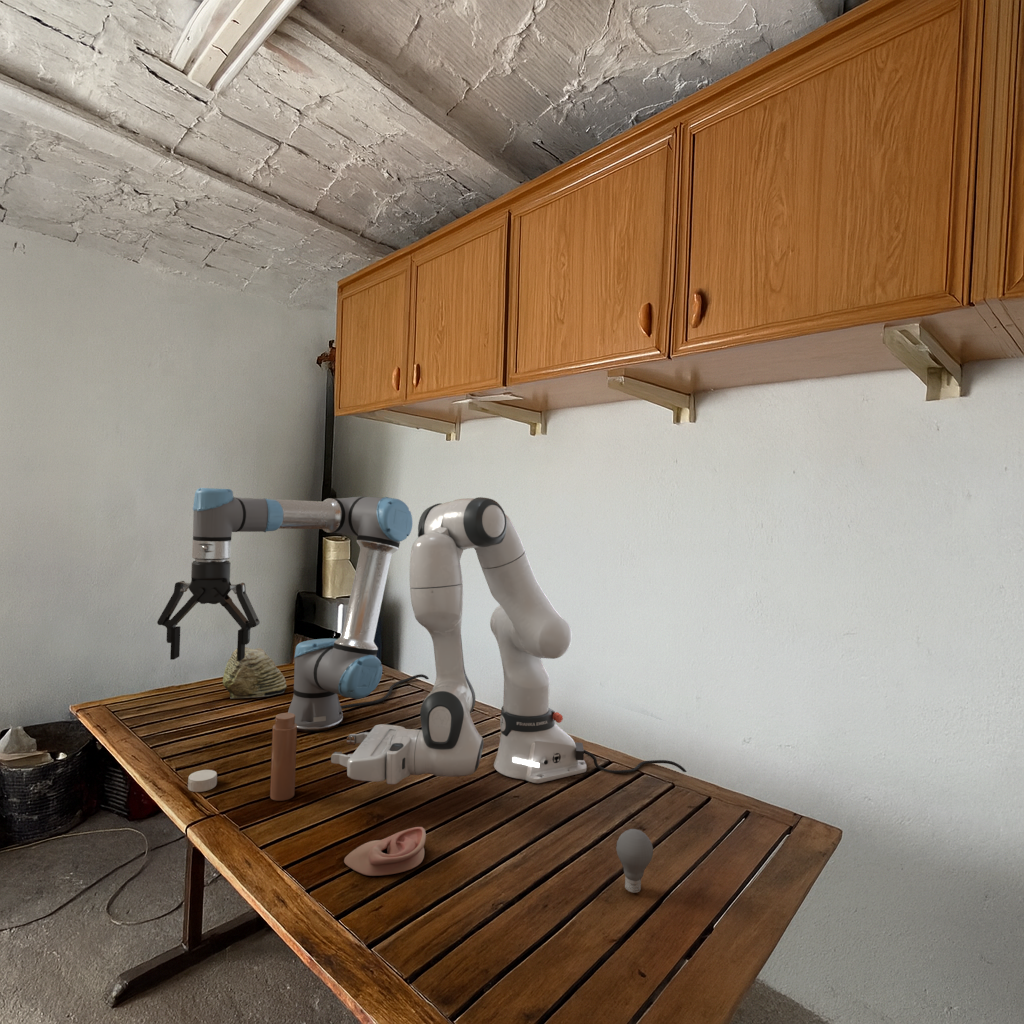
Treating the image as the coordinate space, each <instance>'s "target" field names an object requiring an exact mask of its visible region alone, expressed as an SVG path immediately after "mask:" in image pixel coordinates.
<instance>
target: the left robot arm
mask: <svg viewBox="0 0 1024 1024" xmlns="http://www.w3.org/2000/svg"><path fill="white" fill-rule="evenodd" d="M192 512H193V515H192V519H193V521H192V545H191V546H192V547H191V548H192V549H191V551H192V552H191V558H192V559H194V560H193V561H192V562H191V571H190V572H191V573H190V574H191V575H190V577H191V580H190V582H186V581H185V580H180V581H177V582H175V583H174V587H173V588H174V589H173V593H172V595H171V596H170V598H169V600H168V602H167V603H166V605H165V607H164V609H163V611H162V612H161V614H160V616H159V617H158V619H157V621H156V622H157V623H156V624H157V625H158V626H163V627H165V628H166V643H167V644H170V653H169V654H170V655H169V658H170V660H171V661H172V660H176V659H178V658H180V655H181V654H180V652H181V651H180V649H181V625H179V626H178V624H179V623H180V622H181V621H182V620H183V619H184V618H185V617H186V615H187V614H189V612H190V611H191V610H192V609H193V608H194V607H195V606H196V605H197V604H198V603H200V605H205V604H211V605H217V604H220V605H221V607H223V608H224V609H225V610H226V611H227V613H228V614H229V615H230V616H231V617H232V619H233V620H234V621H235V622H236V624H237V625H238V626H239V627H240V628H239V629H237V645H236V646H237V647H236V649H237V661H241V660H242V659H244V658H245V647H246V645H248V644H249V643H250V641H251V629H253V628H256V627H257V626H259V625H260V624H261V622H260V619H259V617H258V615H257V613H256V610H255V608H254V607H253V605H252V601H251V600H250V598H249V596H248V594H247V588H246V583H244V582H240V583H231V580H230V579H231V562H230V560H229V559H231V558H232V557H231V556H232V535H233V533H239V532H240V533H248V532H250V533H253V532H255V533H258V532H259V533H260V532H261V533H267V532H275V531H277V530H279V529H287V530H289V529H291V530H292V529H294V530H323V531H324V532H326V533H328V534H329V533H330V534H331V533H332V534H333V533H336V534H342V535H348V536H352V537H356V543H357V545H358V546H359V548H360V549H359V554H358V559H357V564H356V568H355V571H354V572H355V574H354V578H353V581H352V582H353V583H352V586H351V591H350V595H349V600H348V604H347V608H346V609H347V610H346V614H345V618H344V623H343V627H342V632H341V636H339V637H338V638H331V637H329V638H317V639H316V638H315V639H308V640H304V641H300V642H299V643H298V644H297V645H296V646H295V650H294V651H295V652H294V655H293V658H294V670H293V671H294V672H293V695H292V696H293V697H292V699H291V702H290V704H289V708H288V711H287V713H293V714H294V715H295V723H296V724H297V732H301V733H316V732H325V731H329V730H332V729H335V728H337V727H339V726H340V725H342V723H343V722H344V714H343V710H344V709H349V708H356V707H363V706H364V707H365V706H371V705H376V704H379V703H382V702H384V701H386V700H387V699H388V698H389V696H391V694H392V692H393V689H394V688H396V686H398V685H401V684H403V683H404V684H405V683H407V682H410V681H412V680H414V679H418V678H424V679H425V680H429V679H430V678H429V677H428V676H427V675H426V674H423V673H421V674H420V673H419V674H415V675H413V676H410V677H408V678H407V677H406V678H404V679H401V680H398V681H396V682H395V683H393V684H392V685H391V686H390V687H389V690H388V692H387V693H386V694H385V695H384V696H383V697H381V698H379V699H375V700H371V701H364V702H356V703H350V704H349V703H348V704H343V705H341V702H340V699H339V695H340V696H341V697H343V698H346V699H347V698H348V699H354V700H360V699H365V698H367V697H368V696H369V695H371V693H372V692H374V691H375V690H376V688H377V687H378V685H379V684H380V681H381V680H382V677H383V664H382V662H381V660H380V659H379V658H378V657H377V655H378V650H379V647H378V646H377V645H376V643H375V637H376V632H377V627H378V624H379V623H378V622H379V617H380V613H381V608H382V604H383V603H382V602H383V598H384V593H385V589H386V584H387V580H388V574H389V570H390V566H391V565H390V564H391V560H392V555H394V553H396V552H397V551H399V549H400V544H401V542H403V541H405V540H406V539H407V538H408V537H409V536H410V534H411V533H412V529H413V516H412V512H411V510H410V508H409V506H408V505H407V503H406V502H404V501H403V500H401V499H399V498H393V497H389V496H384V497H383V496H362V495H361V496H352V497H351V496H350V497H341V498H336V497H335V498H333V497H330V498H329V497H328V498H325V499H324V500H323V501H322V500H321V501H319V500H318V501H317V500H297V499H277V498H265V497H264V498H258V497H257V498H256V497H235V496H234V492H233V490H232V489H230V488H213V487H212V488H211V487H199V488H197V489H196V490H195V493H194V498H193V506H192ZM188 590H189V591H190V592H191V594H192V596H191V597H190V598H189V599H187V602H186V603H185V604H184V605H183V606H182V607H181V608H180V609H179V610H178V611H177V612H176V613H175V614H174V615H173V613H174V612H175V610H176V608H177V606H178V604H179V603H180V601H181V599H182V597H183V595H184V593H186V592H187V591H188ZM231 591H232V592H233V594H235V595H236V598H237V600H238V602H239V604H240V606H241V609H242V610H243V612H244V614H243V612H242V611H241V610H240V609H239V607H238V606H237V605H236V604H235V603H234V601H233V599H232V598H231V597H230V595H229V593H230V592H231ZM172 615H173V617H172ZM171 617H172V618H171Z"/></svg>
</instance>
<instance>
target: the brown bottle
mask: <svg viewBox="0 0 1024 1024" xmlns="http://www.w3.org/2000/svg"><path fill="white" fill-rule="evenodd" d="M274 721H275V723H274V724H273V725H272V729H271V730H272V733H271V754H270V755H271V756H270V758H271V759H270V781H269V782H270V785H269V786H270V787H269V798H270V799H271V800H273V801H277V802H281V801H282V802H283V801H288V800H290V799H292V798H293V797H294V796H295V793H296V769H297V767H296V765H297V741H298V740H297V739H298V738H297V737H298V731H297V724H296V723H295V715H294V714H293V713H288V712H281V713H278V714H276V715H275V718H274Z"/></svg>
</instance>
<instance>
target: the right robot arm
mask: <svg viewBox="0 0 1024 1024" xmlns="http://www.w3.org/2000/svg"><path fill="white" fill-rule="evenodd" d="M469 549H474V550H475V554H476V556H477V559H478V562H479V565H480V568H481V570H482V573H483V576H484V578H485V582H486V584H487V586H488V589H489V591H490V594H491V596H492V597H493V599H494V600H495V601H496V602H497V603H498V606H497V607H496V608H495V609H494V610H493V612H492V614H491V615H490V621H489V626H490V630H491V632H492V634H493V636H494V638H495V640H496V642H497V646H498V650H499V655H500V660H501V665H502V673H503V701H502V703H503V704H502V705H501V710H500V719H499V729H500V737H499V745H498V749H497V753H496V756H495V760H494V762H493V767H494V769H495V770H496V771H497V772H498V773H499V774H501V775H503V776H506V777H509V778H512V779H517V780H523V781H526V782H530V783H532V784H542V783H547V782H550V781H554V780H559V779H564V778H567V777H570V776H574V775H575V776H576V775H579V774H584V773H586V772H587V770H588V767H587V763H586V761H585V755H587V756H588V757H590V758H591V759H592V760H593V764H594V766H595V768H596V769H598V770H599V771H603V772H607V773H611V774H618V775H621V774H632V773H634V772H636V771H638V770H639V769H640V768H641V767H642V766H644V765H653V764H668V765H672V766H674V767H676V768H678V769H679V770H681V771H682V772H683V773H687V772H688V770H686V769H685V767H683V766H682V765H681V764H679V763H678V762H675V761H672V760H668V759H667V760H666V759H654V760H652V759H651V760H644V761H641V762H639V763H638V764H637V765H636V766H635V767H633V768H630V769H621V770H620V769H619V770H617V769H615V770H613V769H607V768H604V767H602V766H601V765H599V764H598V761H597V757H596V756H595V754H593V753H591V752H589V751H588V750H586V749H584V744H583V742H577V741H576V742H575V740H574V739H573V737H572V736H571V735H570V734H568V733H567V732H566V731H565V730H564V729H562V727H560V726H558V724H560V723H562V722H563V720H564V716H563V715H562V713H560V712H558V711H555V710H554V709H552V708H551V707H550V689H551V679H550V675H549V673H548V671H547V669H546V668H545V666H544V663H543V660H542V659H548V660H553V659H554V660H556V659H559V658H561V657H563V655H565V654H566V653H567V651H568V650H569V648H570V646H571V644H572V640H573V632H572V628H571V626H570V624H569V622H568V621H567V620H566V619H565V618H563V616H561V614H560V613H559V612H558V611H557V610H556V608H555V607H554V605H553V604H552V602H551V601H550V599H549V597H548V596H547V595H546V593H545V592H544V590H543V588H542V587H541V584H540V583H539V582H538V580H537V577H536V575H535V572H534V570H533V568H532V565H531V562H530V560H529V557H528V555H527V551H526V549H525V546H524V543H523V541H522V539H521V536H520V534H519V532H518V531H517V528H516V527H515V525H514V523H513V522H512V520H511V518H510V517H509V516H508V515H507V514H506V512H505V510H504V508H503V507H502V506H501V504H500V503H499V502H498V501H497V500H495V499H493V498H489V497H482V496H480V497H475V498H457V499H454V500H451V501H446V502H443V503H440V502H439V503H435V504H432V505H431V506H429V507H427V508H425V510H424V511H423V512H422V513H421V514H420V517H419V520H418V526H417V538H416V539H415V540H414V541H413V543H412V545H411V550H410V559H409V594H410V595H409V596H410V602H411V603H410V604H411V607H412V611H413V615H414V618H415V620H416V622H418V624H420V625H421V626H422V627H423V628H425V630H426V631H427V632H428V633H429V635H430V637H431V640H432V644H433V645H432V646H433V656H434V665H435V674H436V676H435V681H434V685H433V687H432V690H431V691H430V692H429V693H428V694H427V695H426V697H425V698H424V700H423V701H422V702H421V703H422V704H421V705H420V706H421V707H420V711H419V718H420V726H421V729H411V728H405V727H404V726H402V725H401V726H400V725H396V724H395V725H394V724H387V723H386V724H385V723H380V724H376V725H375V724H374V726H373V727H372V729H370V731H365V732H360V733H349V734H348V735H347V737H346V744H347V745H351V746H356V744H359V745H358V746H357V748H356V749H355V751H354V752H353V753H348V754H344V753H343V751H334V752H333V753H332V754H331V756H330V763H331V764H336V765H337V764H338V765H340V766H343V767H345V768H346V775H347V777H348V778H350V779H351V780H353V781H354V780H355V781H363V782H373V783H374V782H377V783H379V782H383V781H385V783H386V784H387V785H396V784H398V783H400V782H401V781H402V780H404V779H405V778H408V777H410V776H423V775H426V774H427V775H433V776H435V777H443V778H445V777H446V778H447V777H448V778H453V777H454V778H455V777H467V776H470V775H473V774H474V773H475V772H477V770H478V769H479V767H480V763H481V759H482V754H483V752H484V751H483V750H484V744H485V743H484V737H483V736H482V735H481V734H480V733H479V731H478V730H477V728H476V725H475V724H474V722H473V719H472V716H471V714H472V712H473V711H474V709H475V706H476V693H475V690H474V688H473V685H472V683H471V681H470V680H469V677H468V675H467V673H466V669H465V661H464V660H465V659H464V653H463V652H464V651H463V642H462V641H463V640H462V621H463V611H464V583H463V574H462V573H463V571H462V565H461V558H462V555H463V552H464V551H465V550H469ZM556 723H558V724H556Z"/></svg>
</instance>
